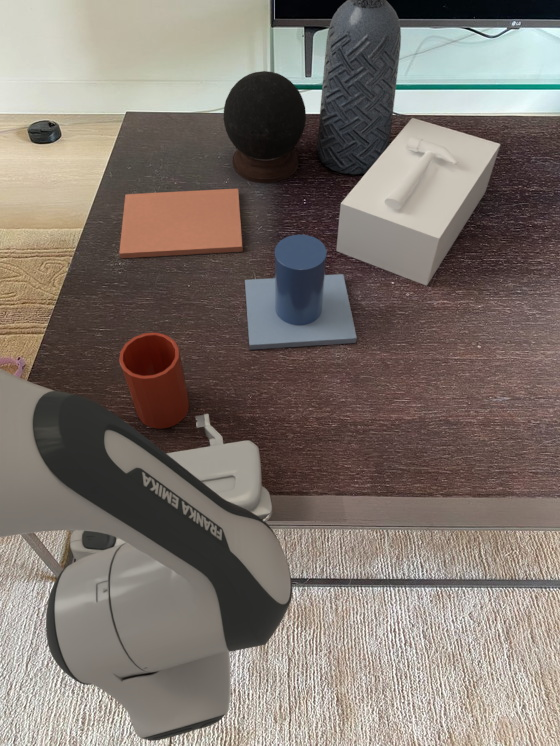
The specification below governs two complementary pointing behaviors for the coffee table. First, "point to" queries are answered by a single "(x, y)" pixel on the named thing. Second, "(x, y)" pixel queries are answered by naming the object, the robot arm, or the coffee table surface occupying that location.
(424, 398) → the coffee table surface
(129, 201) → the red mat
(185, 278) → the coffee table surface
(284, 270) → the navy blue cylinder
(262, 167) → the black ball on stand
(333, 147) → the vase
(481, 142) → the hammer relief block
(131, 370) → the terracotta cup
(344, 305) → the blue mat
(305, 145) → the coffee table surface
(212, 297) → the coffee table surface
